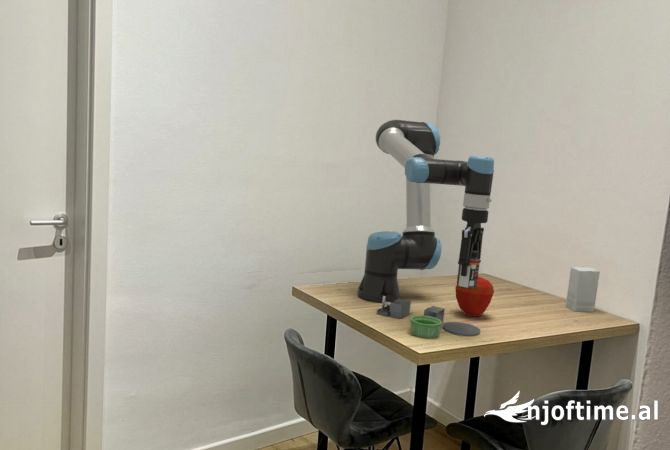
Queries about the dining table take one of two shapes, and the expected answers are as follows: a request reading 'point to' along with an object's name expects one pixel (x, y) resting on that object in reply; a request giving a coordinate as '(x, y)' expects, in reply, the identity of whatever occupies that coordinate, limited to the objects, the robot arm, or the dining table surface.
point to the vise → (407, 309)
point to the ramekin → (425, 326)
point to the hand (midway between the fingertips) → (466, 284)
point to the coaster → (461, 329)
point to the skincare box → (582, 289)
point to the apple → (475, 297)
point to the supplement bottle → (471, 271)
